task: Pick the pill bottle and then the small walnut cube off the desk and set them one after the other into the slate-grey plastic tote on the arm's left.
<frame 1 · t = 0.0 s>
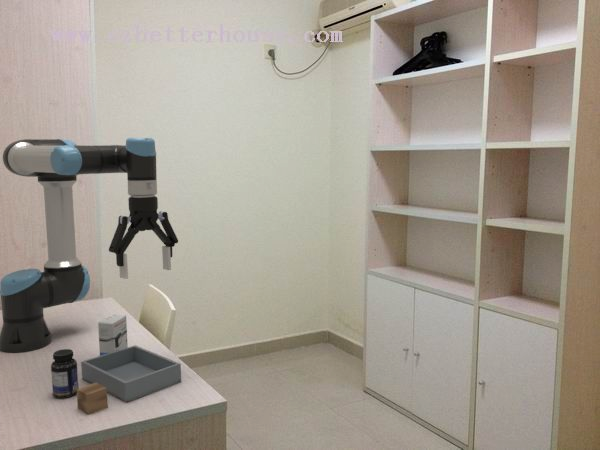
hand: (146, 273, 154), 28 cm above the table, fingers open, 13 cm apart
walnut cube: (92, 408, 136), on the table
ink box: (114, 357, 169), on the table
pill bottle: (65, 394, 144), on the table
tote: (131, 380, 152), on the table
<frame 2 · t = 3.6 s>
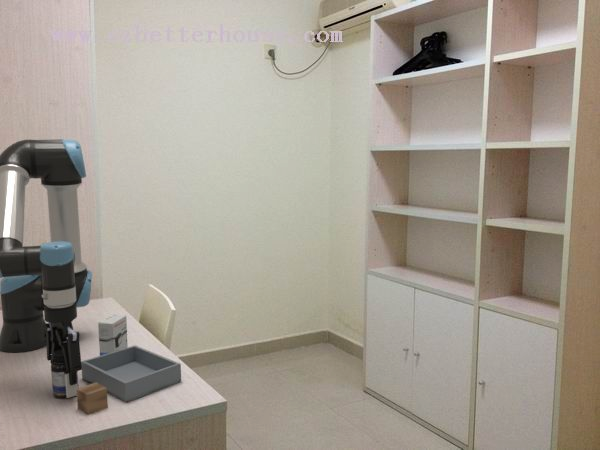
hand: (65, 392, 144), 0 cm above the table, fingers closed on pill bottle, 6 cm apart
pill bottle: (66, 394, 144), on the table, touching gripper
everything else where it was.
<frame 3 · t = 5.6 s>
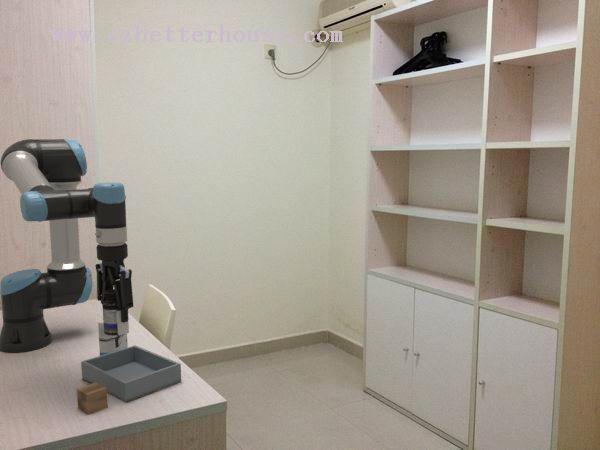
hand: (116, 330, 147), 15 cm above the table, fingers closed on pill bottle, 6 cm apart
pill bottle: (116, 333, 147), point 14 cm above the table, touching gripper
everything else where it was.
when the fingers open (4 cm above the table, at t = 7.9 s): pill bottle drops 3 cm, resting on tote.
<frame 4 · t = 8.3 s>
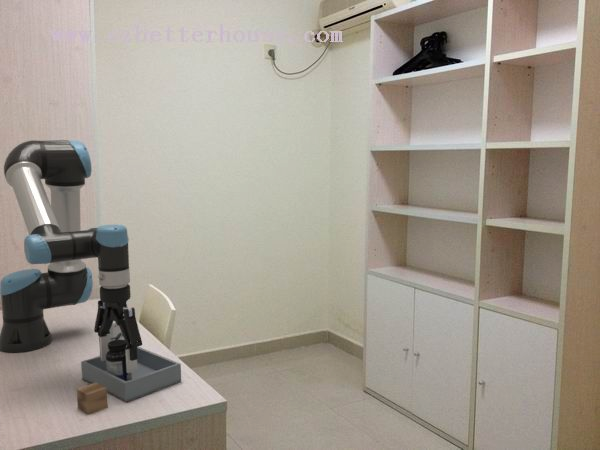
hand: (118, 365, 148), 5 cm above the table, fingers open, 12 cm apart
pill bottle: (120, 383, 149), resting on tote
everything else where it was.
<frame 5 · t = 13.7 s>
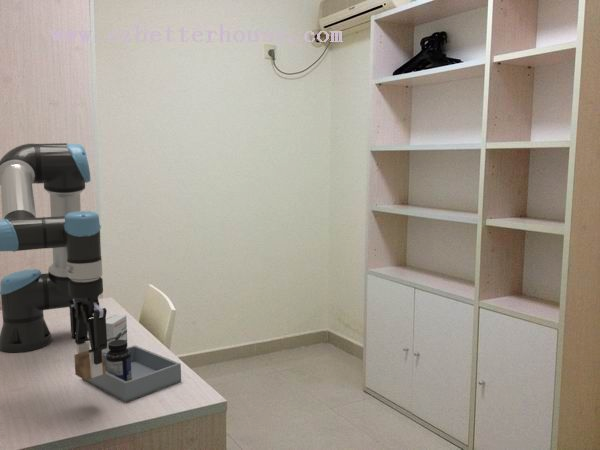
hand: (90, 372, 135), 9 cm above the table, fingers closed on walnut cube, 5 cm apart
walnut cube: (90, 374, 135), point 8 cm above the table, touching gripper
everything else where it was.
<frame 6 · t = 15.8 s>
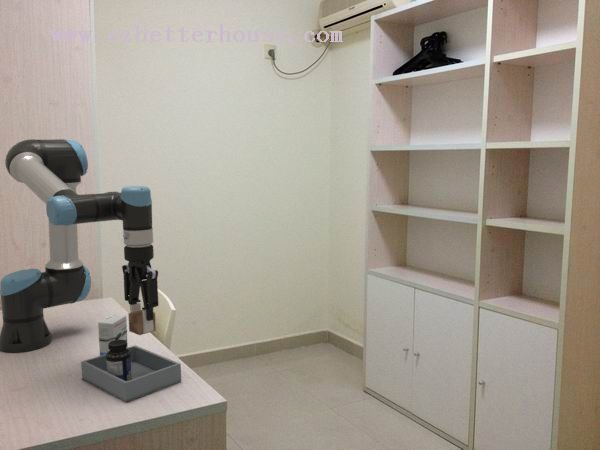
hand: (142, 329, 153), 13 cm above the table, fingers closed on walnut cube, 5 cm apart
walnut cube: (142, 330, 153), point 13 cm above the table, touching gripper
everything else where it was.
when the fingers open (2 cm above the table, at t = 18.0 s): walnut cube stays where it is, resting on tote.
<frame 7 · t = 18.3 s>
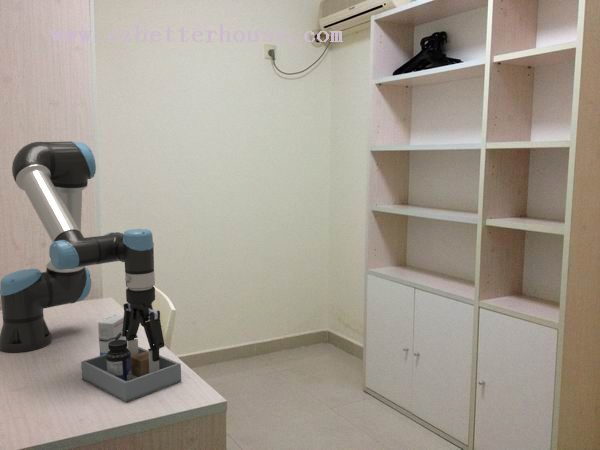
hand: (143, 367, 154), 3 cm above the table, fingers open, 9 cm apart
walnut cube: (144, 373, 155), point 1 cm above the table, touching tote
everything else where it was.
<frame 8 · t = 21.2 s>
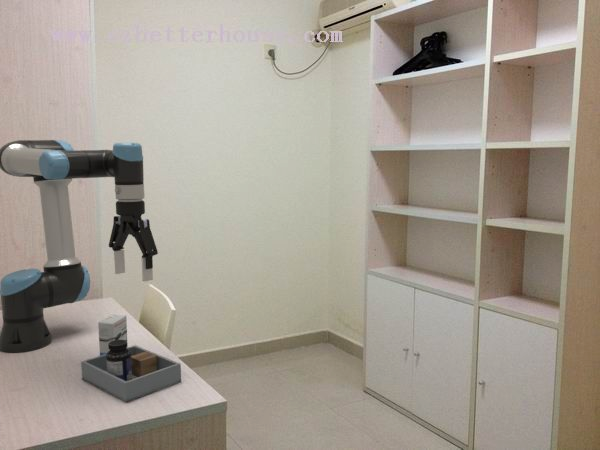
hand: (133, 276, 156), 27 cm above the table, fingers open, 13 cm apart
nothing on the table moved.
at the end: pill bottle inside the target area on the tote (3.5 cm from its centre), point 0.4 cm above the tote's base; walnut cube inside the target area on the tote (4.0 cm from its centre), point 0.6 cm above the tote's base; the gripper is holding nothing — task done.
